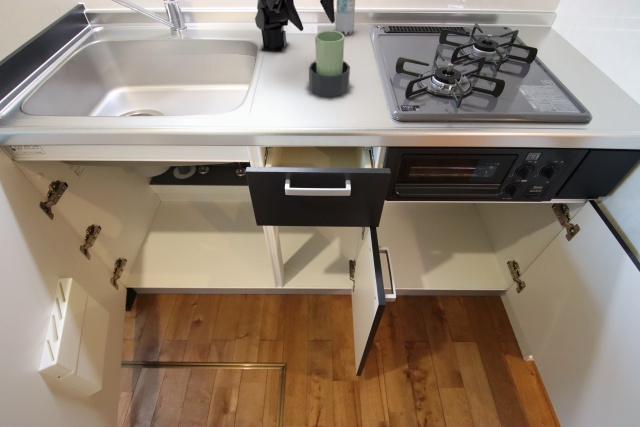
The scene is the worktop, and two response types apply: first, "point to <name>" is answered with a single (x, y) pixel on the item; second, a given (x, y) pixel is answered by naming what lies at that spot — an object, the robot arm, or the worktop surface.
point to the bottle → (345, 16)
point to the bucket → (329, 82)
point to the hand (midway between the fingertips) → (318, 26)
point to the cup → (329, 53)
